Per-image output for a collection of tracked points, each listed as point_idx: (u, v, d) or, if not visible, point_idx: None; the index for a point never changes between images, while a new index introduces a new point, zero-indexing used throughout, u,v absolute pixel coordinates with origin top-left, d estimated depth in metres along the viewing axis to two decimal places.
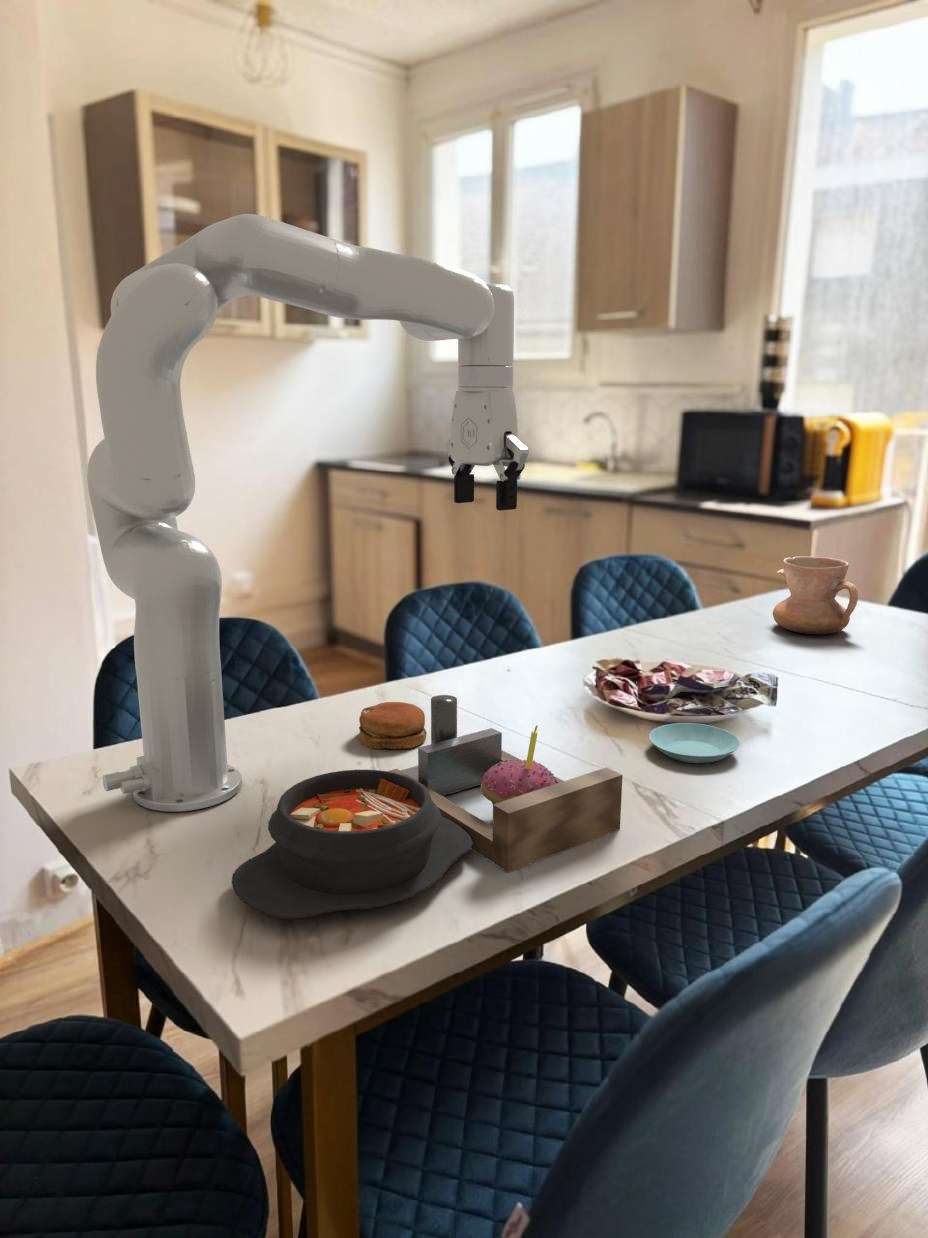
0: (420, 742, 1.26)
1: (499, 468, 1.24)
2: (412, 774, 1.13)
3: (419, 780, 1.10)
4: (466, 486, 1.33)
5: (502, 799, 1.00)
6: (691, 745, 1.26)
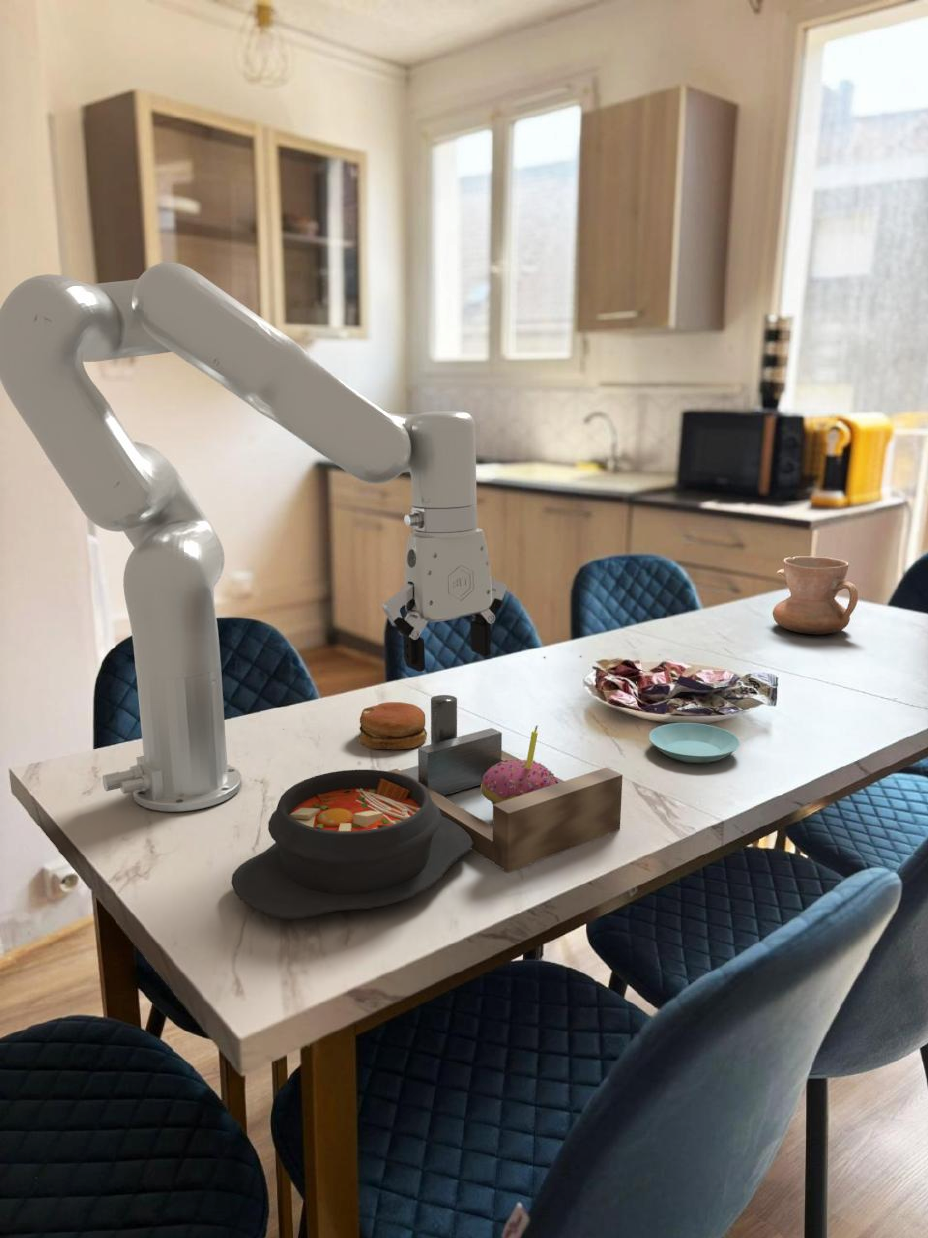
0: (420, 742, 1.26)
1: (486, 611, 1.12)
2: (412, 774, 1.13)
3: (419, 780, 1.10)
4: None
5: (502, 799, 1.00)
6: (691, 745, 1.26)
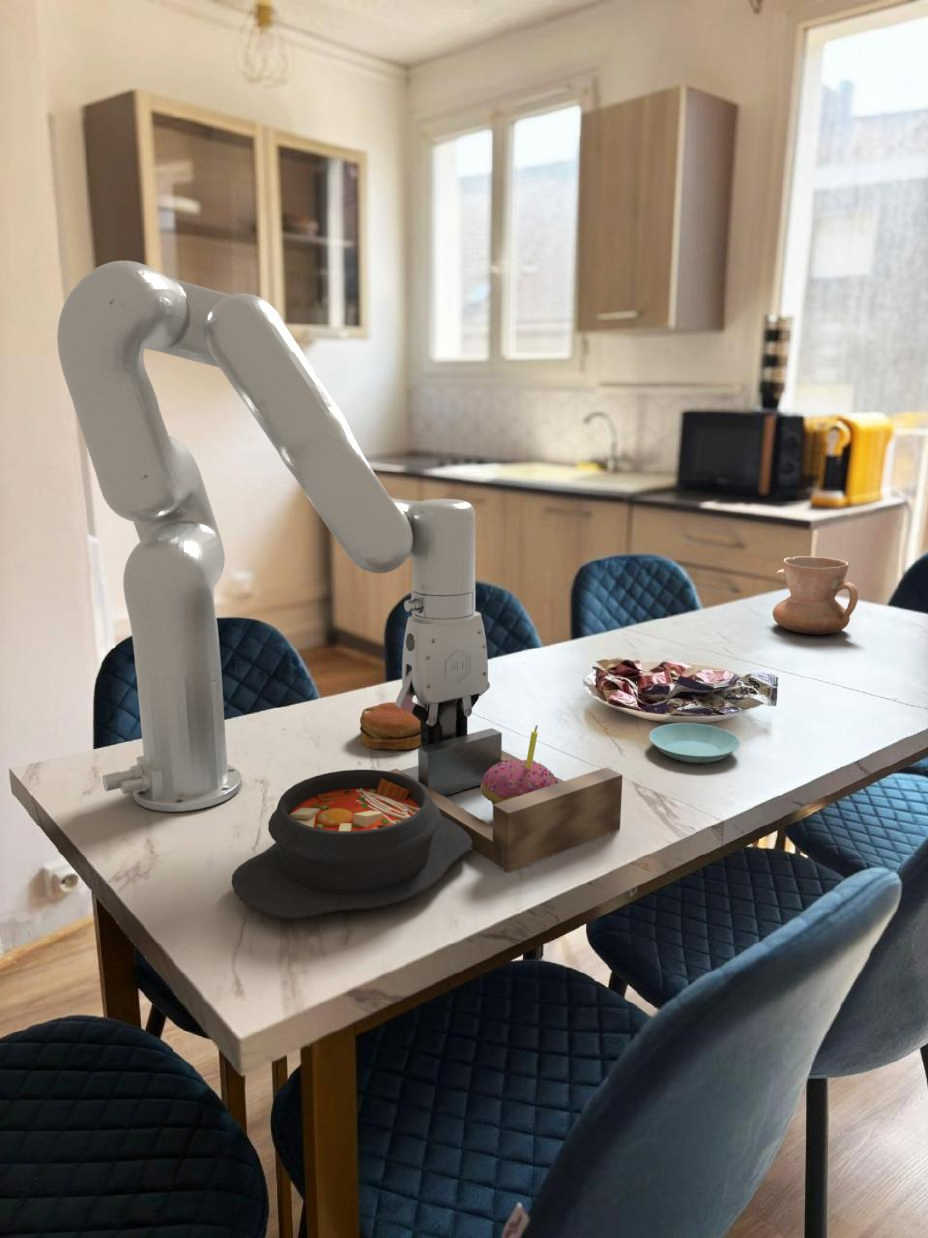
0: None
1: (468, 702, 1.14)
2: (412, 774, 1.13)
3: (419, 780, 1.10)
4: None
5: (502, 799, 1.00)
6: (691, 745, 1.26)
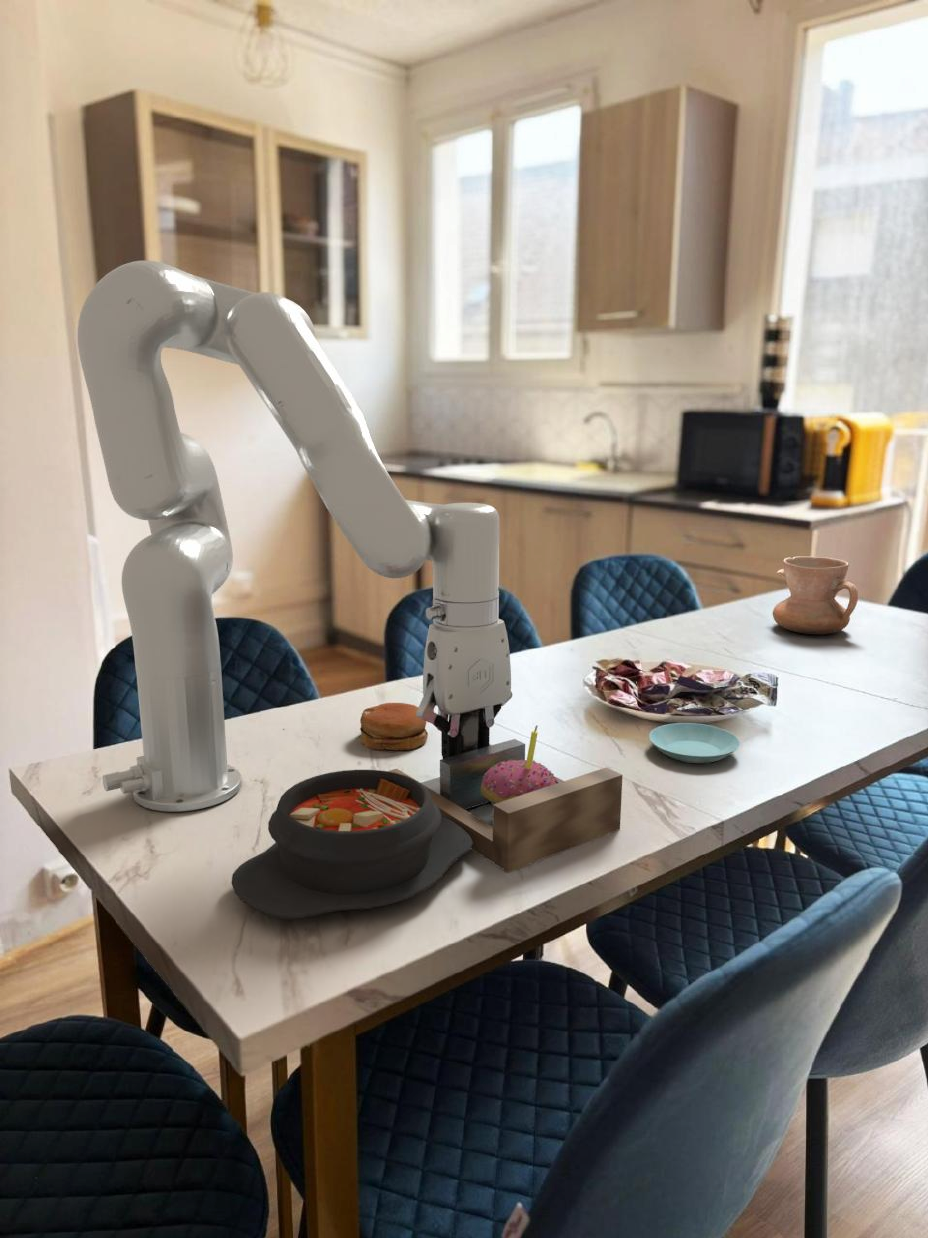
0: (421, 743, 1.26)
1: (490, 713, 1.10)
2: (433, 787, 1.10)
3: (441, 793, 1.06)
4: None
5: (502, 799, 1.00)
6: (691, 745, 1.26)
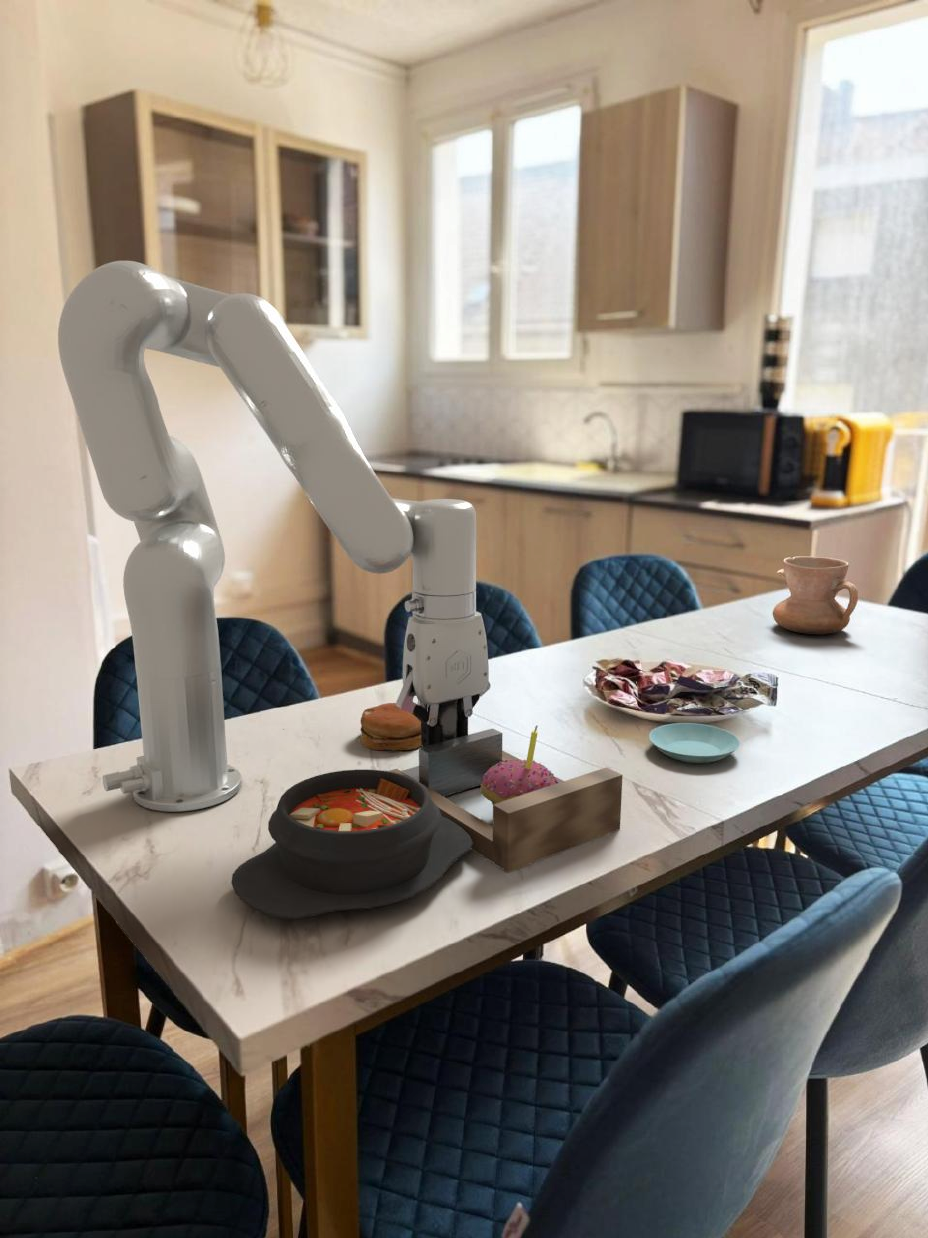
0: None
1: (468, 703, 1.14)
2: (412, 775, 1.13)
3: (420, 780, 1.10)
4: None
5: (502, 799, 1.00)
6: (691, 745, 1.26)
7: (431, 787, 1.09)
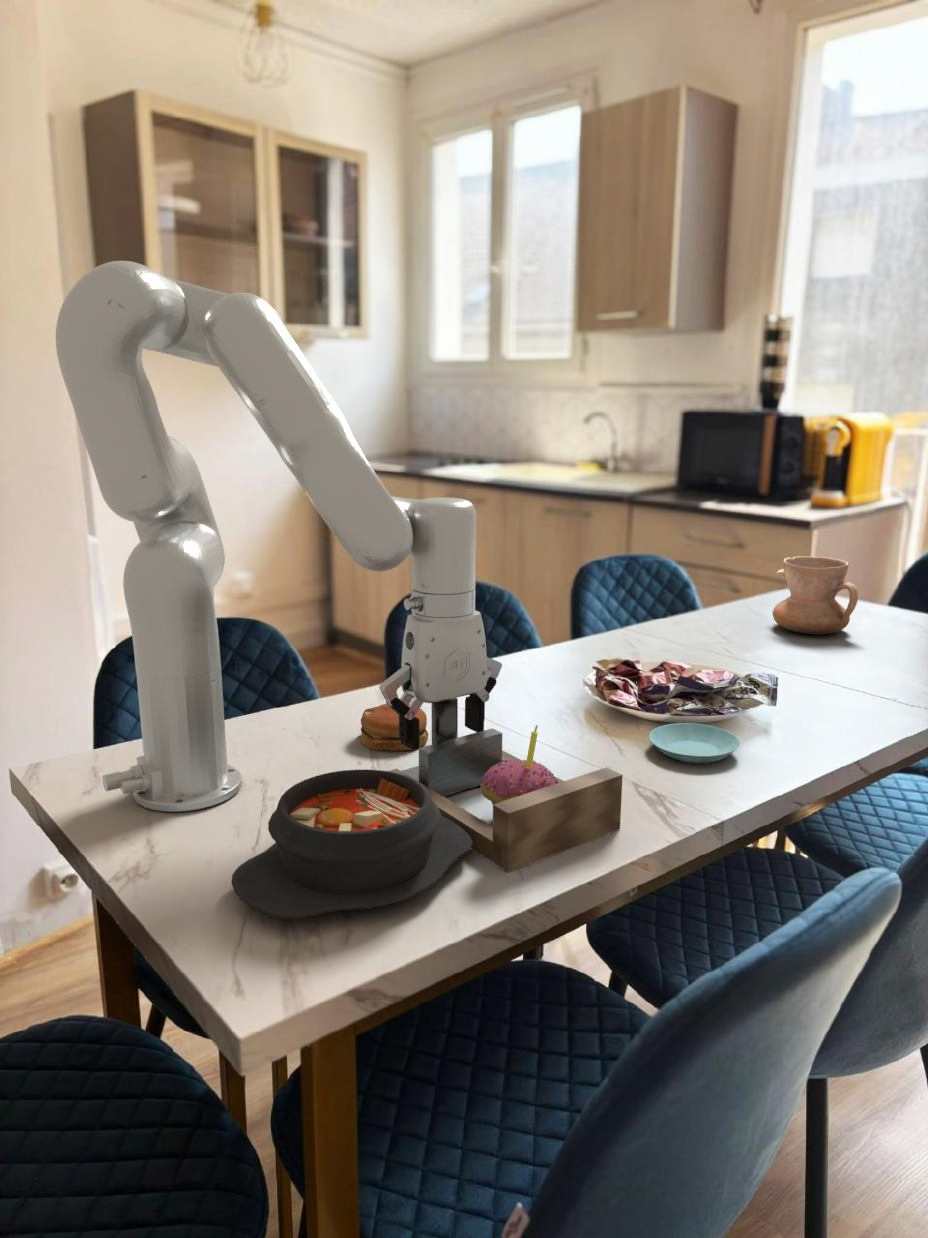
0: (422, 743, 1.26)
1: (481, 690, 1.15)
2: (412, 774, 1.13)
3: (420, 780, 1.10)
4: None
5: (502, 799, 1.00)
6: (691, 745, 1.26)
7: (431, 787, 1.09)
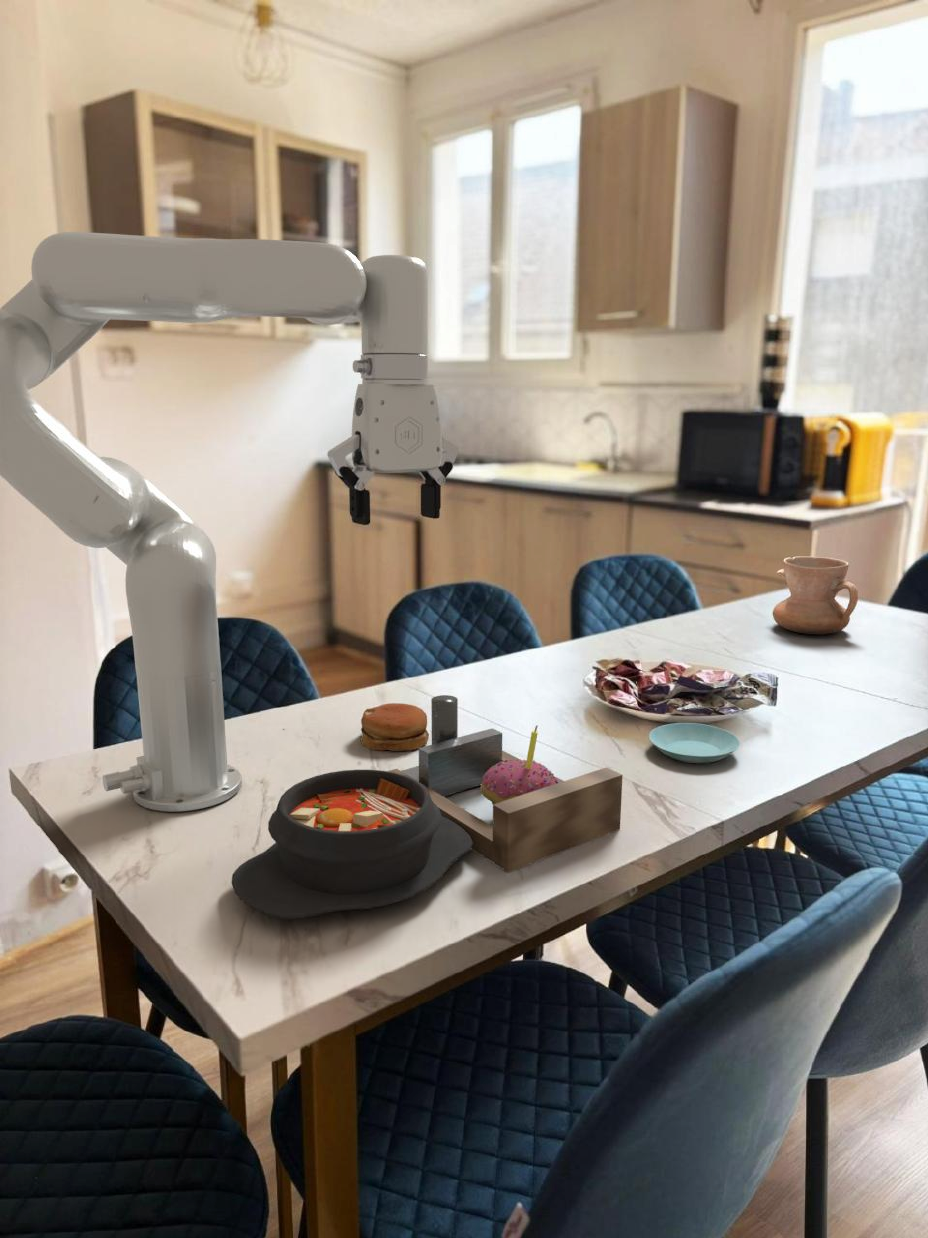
0: (422, 744, 1.25)
1: (436, 471, 1.11)
2: (412, 774, 1.13)
3: (420, 780, 1.10)
4: None
5: (502, 799, 1.00)
6: (691, 745, 1.26)
7: (431, 787, 1.09)
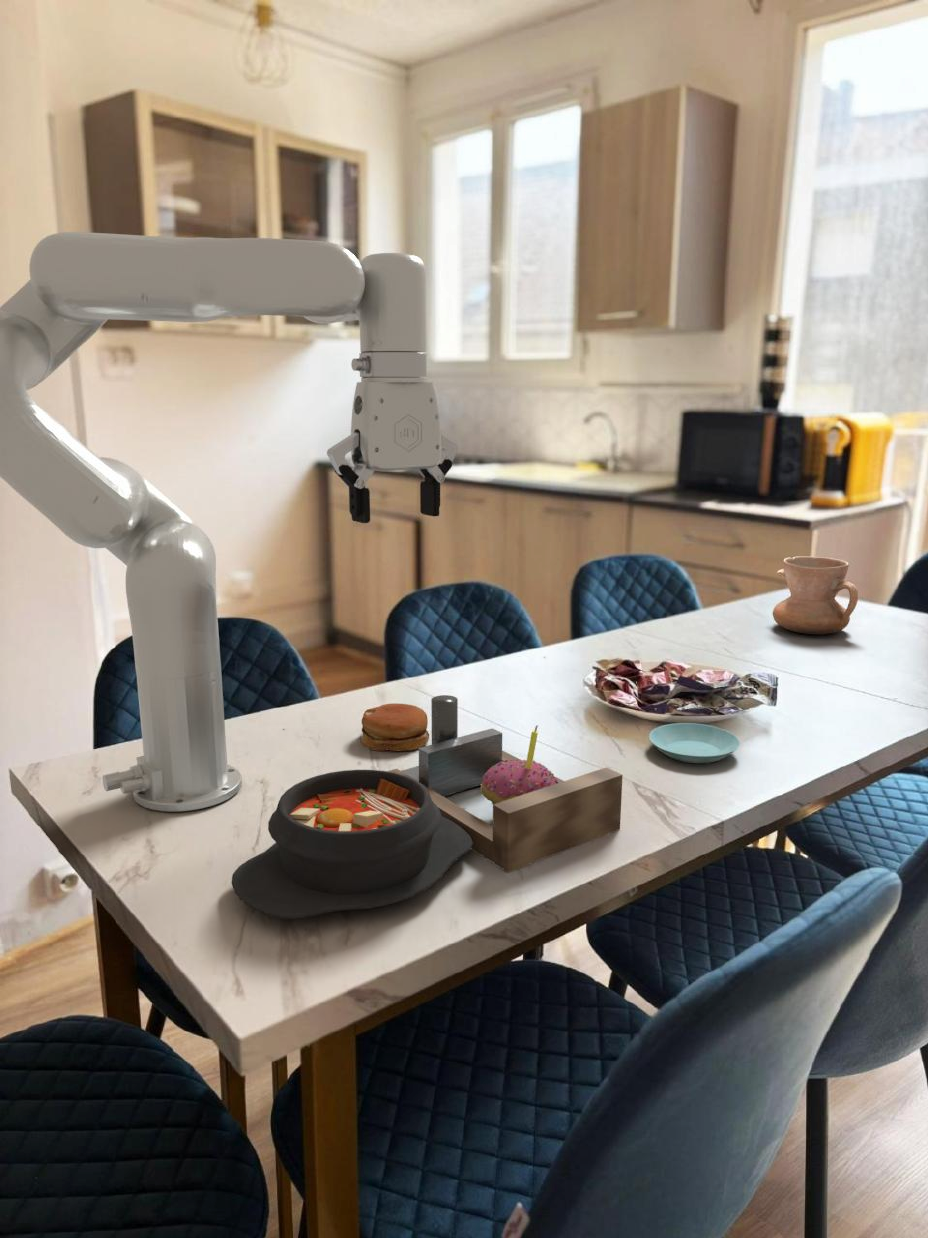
0: (422, 744, 1.25)
1: (436, 469, 1.11)
2: (412, 774, 1.13)
3: (420, 780, 1.10)
4: None
5: (502, 799, 1.00)
6: (691, 745, 1.26)
7: (431, 787, 1.09)
